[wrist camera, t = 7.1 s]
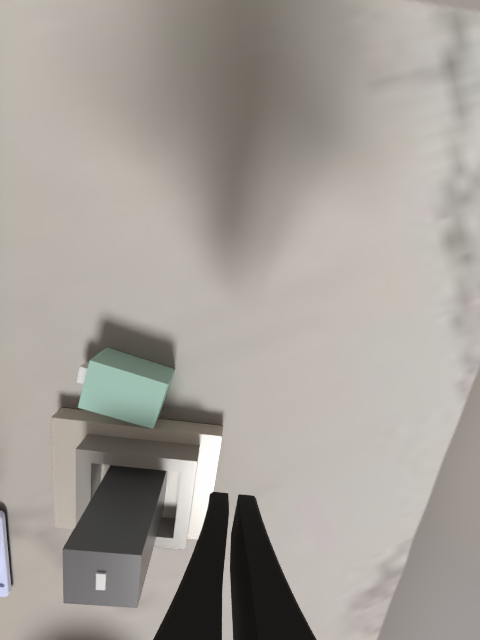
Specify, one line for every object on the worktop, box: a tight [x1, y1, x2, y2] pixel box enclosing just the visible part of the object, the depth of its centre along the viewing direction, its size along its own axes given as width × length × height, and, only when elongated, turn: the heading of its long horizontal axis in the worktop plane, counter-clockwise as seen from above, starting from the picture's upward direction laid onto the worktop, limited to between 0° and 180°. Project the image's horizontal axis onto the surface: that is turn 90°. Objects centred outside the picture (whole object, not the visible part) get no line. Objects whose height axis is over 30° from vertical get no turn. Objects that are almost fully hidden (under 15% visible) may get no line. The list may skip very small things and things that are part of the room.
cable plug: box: [77, 347, 175, 429], centre depth 18 cm, size 4×6×2 cm, turn 70°
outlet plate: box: [51, 408, 223, 549], centre depth 20 cm, size 10×12×3 cm
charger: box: [63, 465, 168, 608], centre depth 17 cm, size 4×4×6 cm
